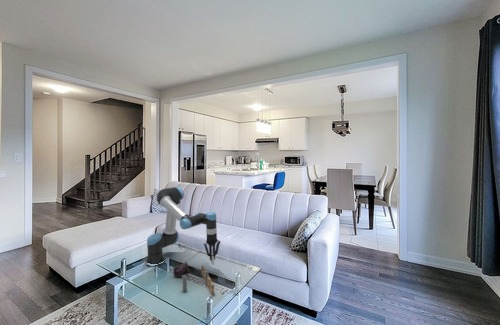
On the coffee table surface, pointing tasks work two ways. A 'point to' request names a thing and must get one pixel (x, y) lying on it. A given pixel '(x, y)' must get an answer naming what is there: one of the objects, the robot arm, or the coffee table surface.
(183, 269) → the rock
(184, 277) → the posts
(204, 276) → the gate
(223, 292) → the coffee table surface
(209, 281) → the fence
